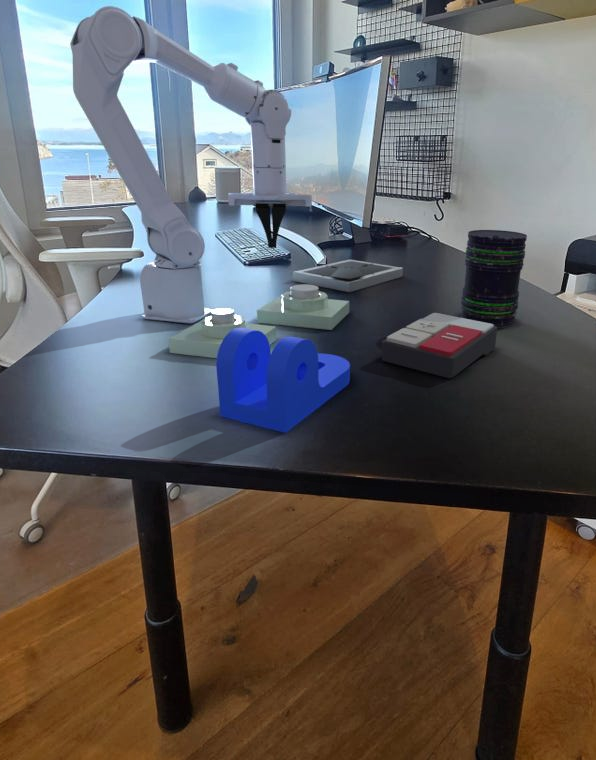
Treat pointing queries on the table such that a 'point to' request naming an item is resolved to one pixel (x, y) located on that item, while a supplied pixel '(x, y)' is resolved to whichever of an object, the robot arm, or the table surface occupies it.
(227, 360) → the bracket
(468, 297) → the storage jar
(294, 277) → the picture frame
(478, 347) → the calculator
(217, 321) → the half button
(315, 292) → the full button
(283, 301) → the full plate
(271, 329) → the pale green button base
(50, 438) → the table surface
